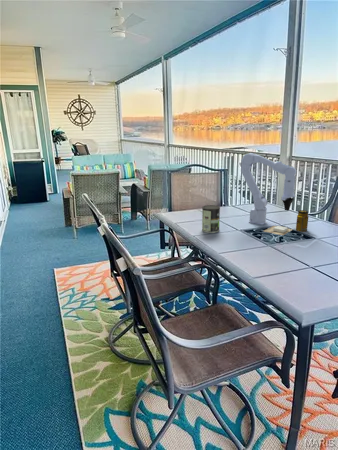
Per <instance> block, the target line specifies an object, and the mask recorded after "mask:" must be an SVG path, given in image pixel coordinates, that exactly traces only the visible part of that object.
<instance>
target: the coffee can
mask: <svg viewBox="0 0 338 450" xmlns="http://www.w3.org/2000/svg"><path fill="white" fill-rule="evenodd" d="M201 208H202V214H201V217H202V219H201V231H202V232H204V233H207V234H208V233H209V234H215V233H218V232H219V231H220V216H221V214H220V212H221V207H220V206H218V205H216V204H215V205H213V204H211V205H210V204H209V205H208V204H207V205H203V206H202V207H201Z"/></svg>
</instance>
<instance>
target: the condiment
mask: <svg viewBox="0 0 338 450" xmlns="http://www.w3.org/2000/svg"><path fill="white" fill-rule="evenodd" d="M308 224H309V211H308V210H305V209H301V210H298V212H297V215H296V224H295V230H296V231H297V232H300V233H301V232H304V233H305V232H308V226H309V225H308Z"/></svg>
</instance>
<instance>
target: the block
mask: <svg viewBox="0 0 338 450" xmlns="http://www.w3.org/2000/svg"><path fill="white" fill-rule="evenodd" d="M276 226H277V227H275V228H273V231H277V232H282V233H284V232H286V231H287V230H288V229H289V227H287V226H283V225H282V226H281V225H276Z"/></svg>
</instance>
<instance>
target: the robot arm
mask: <svg viewBox="0 0 338 450" xmlns="http://www.w3.org/2000/svg"><path fill="white" fill-rule="evenodd" d="M240 161H241V165H240V167H241V168H240V172H241V175H242V176H243V178H244V180H245V182H246V184H247V187H248V189H249V191H250V193H251V195H252V201H253V203H254V204H253V205H254V207H252V208H251V209H250V212H249V221H248V223H250V224H258V225H265V224H267V223H268V221H267V207H266V206H268V200H267V198H266V197H265V196H264V195H263V193H262V192H261V191H260V188H259V186H258V184H257V183H256V180H255V178H254V176H253V173H252V171H251V168H252V166H253V164H256V163H258V164H259V163H260V164H262V165H265V166H268V167H270V168H271V169H272V170H273V171H274V172H277V173H279V174H281V175H284V183H283V194H282V196H281V201H282V203H283V207H284V210H285V211H287V212H288V211H290V208H291V206H292V204H293V202H294V200H295V198H296V195H295V194H296V193H295V185H296V176H295V175H296V174H297V169H296V168H295V167H294V166H290V165H289V164H285V163H283V161H281V160H280V161H272V159H268V158H266V157H264V156H262V155H260V154H256V153H253V152H249V153H246V154H243V157H242V158H241V160H240Z"/></svg>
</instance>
